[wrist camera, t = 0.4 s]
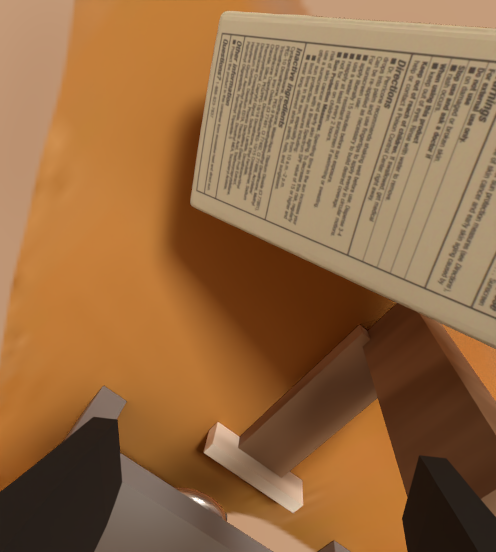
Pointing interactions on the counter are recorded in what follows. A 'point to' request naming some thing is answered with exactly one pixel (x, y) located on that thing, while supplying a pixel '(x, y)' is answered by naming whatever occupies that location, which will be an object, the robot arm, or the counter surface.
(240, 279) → the counter surface
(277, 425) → the brown piece
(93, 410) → the u-shaped block
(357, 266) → the skincare box
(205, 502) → the steel token
